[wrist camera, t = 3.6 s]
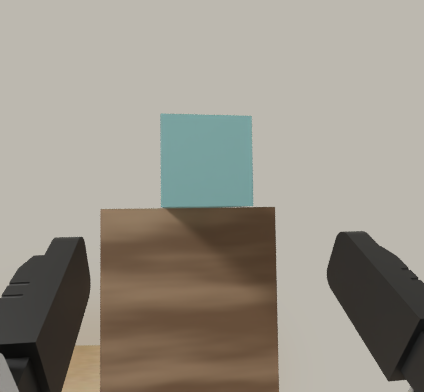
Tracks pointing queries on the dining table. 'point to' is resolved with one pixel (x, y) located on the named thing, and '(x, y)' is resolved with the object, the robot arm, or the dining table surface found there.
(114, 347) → the stand
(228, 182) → the bar
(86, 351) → the dining table surface
